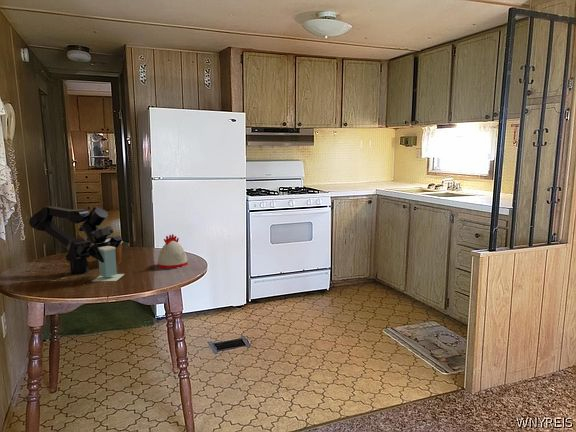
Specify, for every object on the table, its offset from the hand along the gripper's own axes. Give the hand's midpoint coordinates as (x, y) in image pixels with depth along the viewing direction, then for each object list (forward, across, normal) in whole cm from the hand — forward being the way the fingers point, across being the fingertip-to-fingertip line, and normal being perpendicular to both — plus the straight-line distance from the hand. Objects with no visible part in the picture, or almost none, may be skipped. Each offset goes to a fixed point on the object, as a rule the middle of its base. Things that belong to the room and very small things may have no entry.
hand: (109, 260), depth 181 cm
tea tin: (+4, 0, +6) cm, 7 cm away
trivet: (+5, 0, +6) cm, 8 cm away
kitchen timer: (+10, +30, +2) cm, 31 cm away
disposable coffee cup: (-10, +16, +21) cm, 28 cm away
